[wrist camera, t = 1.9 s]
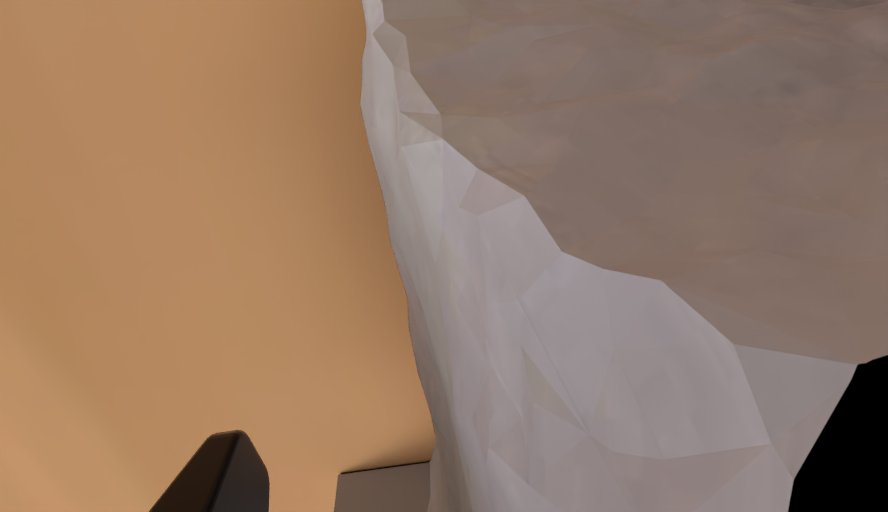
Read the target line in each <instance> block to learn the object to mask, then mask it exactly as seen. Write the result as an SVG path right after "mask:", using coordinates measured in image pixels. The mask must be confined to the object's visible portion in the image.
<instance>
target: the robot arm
mask: <svg viewBox="0 0 888 512" xmlns="http://www.w3.org/2000/svg"><path fill="white" fill-rule="evenodd" d="M268 511H269V476H268V472H267V469H266V466H265V465H264V463H263V461H262V459H261V458H260V456H259V454H258V452H257V451H256V449H255V447H254V445H253V443H252V442H251V440H250V438H249V437H248V435H247V434H246V433H245V432H244V431H242V430H234V431H227V432H220V433H215V434H213V435H211V436H210V437H208V438H207V439H206V440H205V441H204V443H203V444H202V445H201V447H200V448H199V449H198V450H197V452H196V453H195V454H194V455H193V457H192V458H191V459H190V460H189V462H188V463H187V464H186V465H185V467H184V468H183V469H182V470H181V472H180V473H179V474H178V475H177V477H176V478H175V479H174V480H173V482H172V483H171V484H170V485H169V487H168V488H167V489H166V490H165V492H164V493H163V494H162V496H161V497H160V498H159V499H158V501H157V502H156V503H155V504H154V506H153V507H152V508H151V509H150V511H149V512H268Z"/></svg>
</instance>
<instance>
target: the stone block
mask: <svg viewBox="0 0 888 512" xmlns="http://www.w3.org/2000/svg"><path fill="white" fill-rule="evenodd" d="M362 4H363V10H364V16H365V22H366V46H365V50H364V55H363V59H362V92H361V100H360V105H361V110H362V114H363V119H364V124H365V128H366V133H367V137H368V142H369V146H370V149H371V153H372V157H373V160H374V164H375V168H376V172H377V175H378V179H379V183H380V186H381V190H382V194H383V198H384V201H385V207H386V212H387V217H388V227H389V237H390V241H391V244H392V248H393V251H394V254H395V257H396V262H397V266H398V270H399V273H400V276H401V279H402V282H403V286H404V289H405V292H406V295H407V299H408V321H409V331H410V336H411V341H412V346H413V351H414V356H415V360H416V365H417V370H418V375H419V378H420V381H421V384H422V387H423V390H424V393H425V397H426V400H427V403H428V406H429V409H430V413H431V418H432V422H433V427H434V432H435V447H434V450H433V454H432V457H431V461H430V495H431V496H430V501H429V505H428V510H427V512H888V0H362Z"/></svg>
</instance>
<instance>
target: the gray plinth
mask: <svg viewBox="0 0 888 512" xmlns="http://www.w3.org/2000/svg"><path fill="white" fill-rule="evenodd" d="M430 496H431V495H430V462H429V463H421V464H414V465H407V466H399V467H392V468H385V469H378V470H370V471H363V472H356V473H348V474H341V475H338V482H337V490H336V499H335V508H334V512H427V510H428V505H429V501H430Z"/></svg>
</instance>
